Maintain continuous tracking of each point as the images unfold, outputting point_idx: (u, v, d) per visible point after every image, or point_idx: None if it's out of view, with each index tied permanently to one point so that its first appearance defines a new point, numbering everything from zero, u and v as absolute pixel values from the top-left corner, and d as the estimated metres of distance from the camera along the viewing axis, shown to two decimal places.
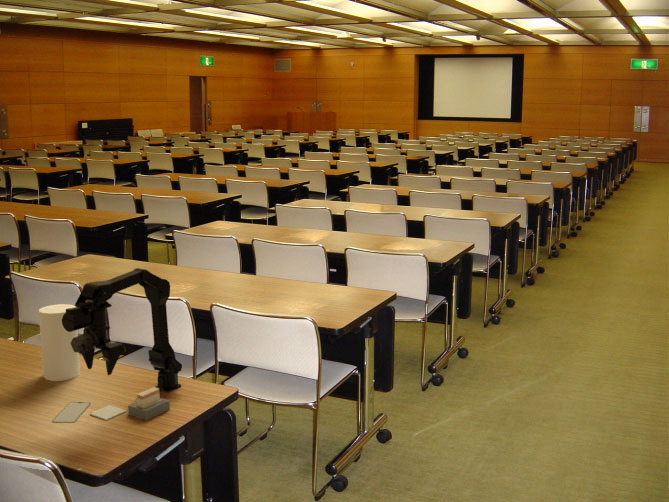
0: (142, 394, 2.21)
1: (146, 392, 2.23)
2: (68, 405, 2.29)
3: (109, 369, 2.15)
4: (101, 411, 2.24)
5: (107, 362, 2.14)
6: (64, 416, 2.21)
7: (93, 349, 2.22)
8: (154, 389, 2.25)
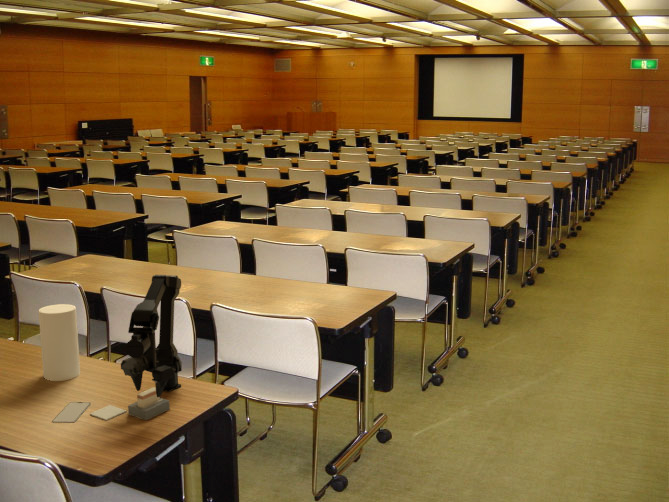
0: (142, 394, 2.21)
1: (146, 392, 2.23)
2: (68, 405, 2.29)
3: (159, 391, 2.20)
4: (101, 411, 2.24)
5: (157, 385, 2.19)
6: (64, 416, 2.21)
7: (141, 371, 2.27)
8: (154, 389, 2.25)
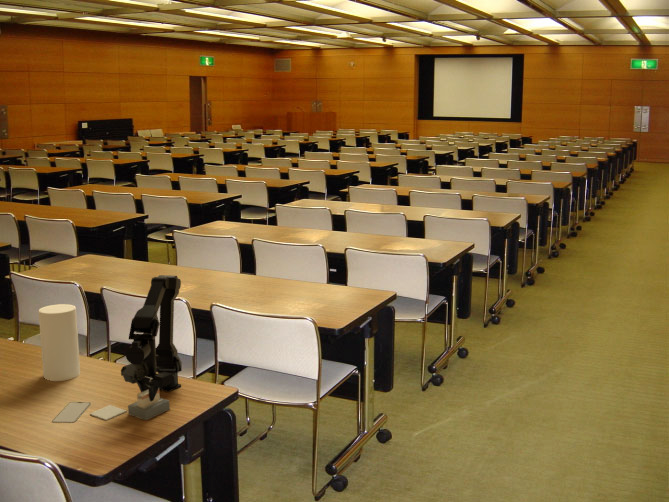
0: (142, 394, 2.21)
1: (146, 392, 2.23)
2: (68, 405, 2.29)
3: (151, 396, 2.22)
4: (101, 411, 2.24)
5: (150, 389, 2.21)
6: (64, 416, 2.21)
7: (148, 379, 2.26)
8: None
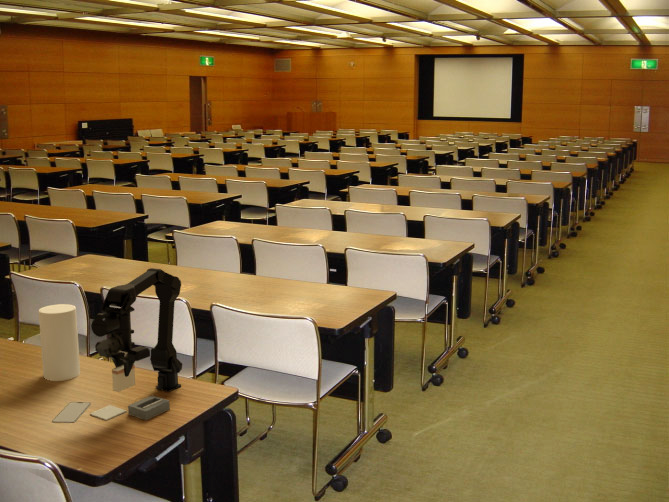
0: (117, 369, 2.18)
1: (121, 367, 2.20)
2: (68, 405, 2.29)
3: (127, 371, 2.19)
4: (101, 411, 2.24)
5: (125, 364, 2.18)
6: (64, 416, 2.21)
7: (123, 355, 2.23)
8: None
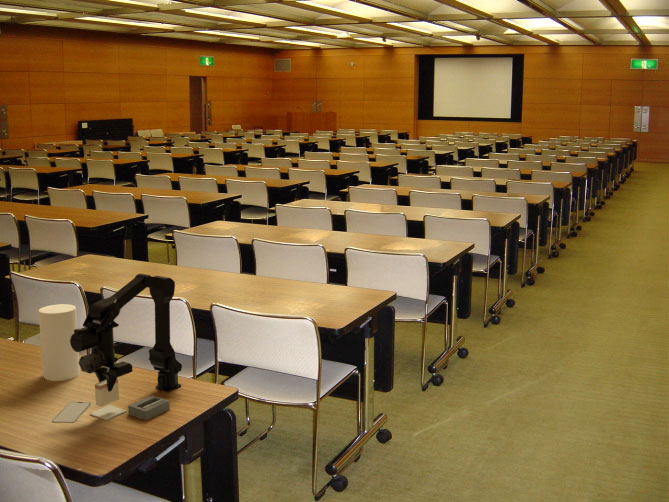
0: (100, 384, 2.19)
1: (104, 382, 2.21)
2: (68, 405, 2.29)
3: (110, 386, 2.20)
4: (101, 411, 2.24)
5: (108, 379, 2.19)
6: (64, 416, 2.21)
7: (107, 370, 2.24)
8: None
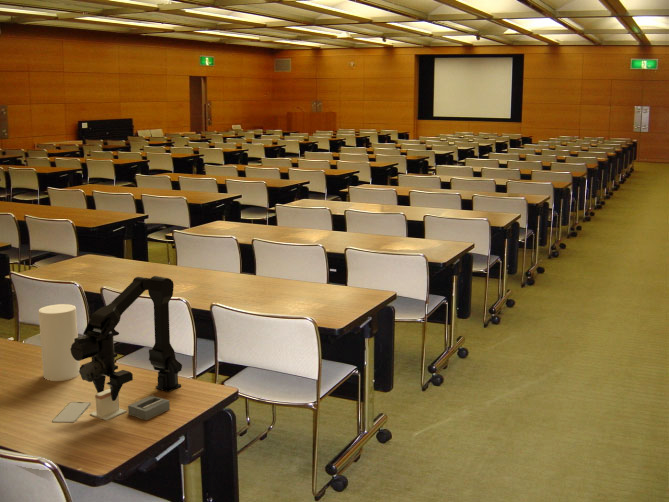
0: (100, 394, 2.20)
1: (104, 392, 2.21)
2: (68, 405, 2.29)
3: (114, 395, 2.20)
4: None
5: (112, 388, 2.18)
6: (64, 416, 2.21)
7: (104, 377, 2.25)
8: None
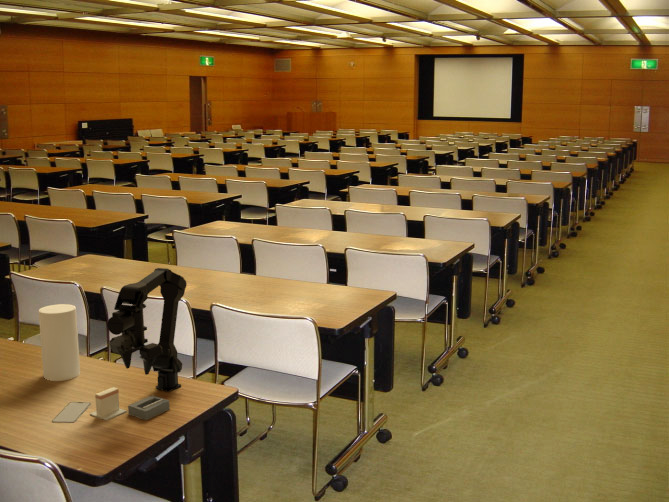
0: (100, 394, 2.20)
1: (104, 392, 2.21)
2: (68, 405, 2.29)
3: (147, 369, 2.21)
4: None
5: (145, 362, 2.20)
6: (64, 416, 2.21)
7: (131, 349, 2.28)
8: (113, 389, 2.24)
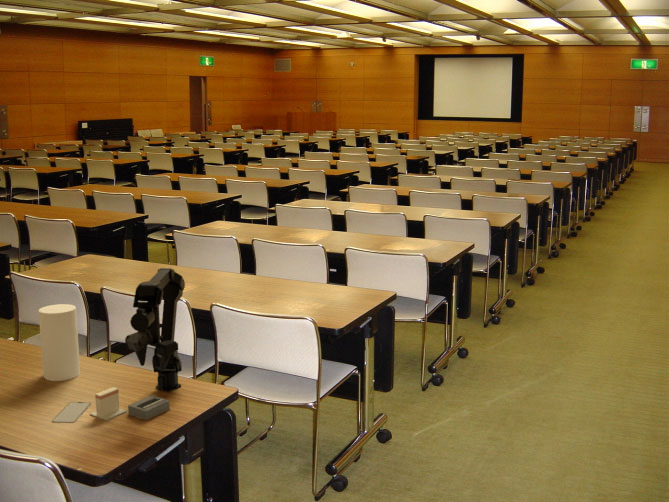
0: (100, 394, 2.20)
1: (104, 392, 2.21)
2: (68, 405, 2.29)
3: (162, 366, 2.23)
4: None
5: (161, 359, 2.22)
6: (64, 416, 2.21)
7: (145, 346, 2.30)
8: (113, 389, 2.24)
